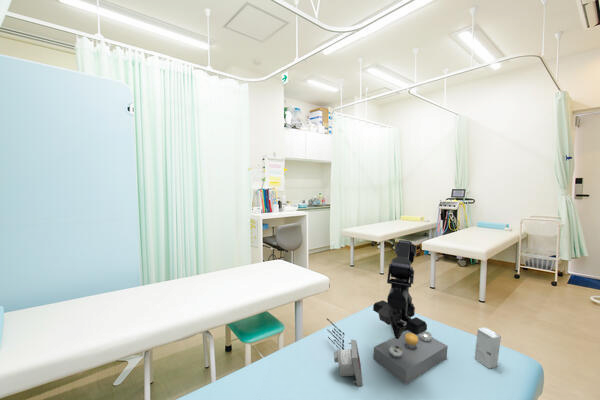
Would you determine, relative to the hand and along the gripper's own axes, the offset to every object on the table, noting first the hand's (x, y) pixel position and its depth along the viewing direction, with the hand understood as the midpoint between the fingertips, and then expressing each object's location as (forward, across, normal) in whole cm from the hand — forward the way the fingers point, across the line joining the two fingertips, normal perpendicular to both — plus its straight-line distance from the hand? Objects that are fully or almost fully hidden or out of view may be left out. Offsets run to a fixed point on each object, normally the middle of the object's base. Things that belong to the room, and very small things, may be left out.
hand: (397, 338), depth 93 cm
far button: (+9, 0, +17) cm, 20 cm away
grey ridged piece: (+11, -13, -15) cm, 22 cm away
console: (+11, 0, +8) cm, 14 cm away
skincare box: (+11, +16, +31) cm, 37 cm away
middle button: (+7, 0, +8) cm, 11 cm away
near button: (+9, 0, -1) cm, 9 cm away
